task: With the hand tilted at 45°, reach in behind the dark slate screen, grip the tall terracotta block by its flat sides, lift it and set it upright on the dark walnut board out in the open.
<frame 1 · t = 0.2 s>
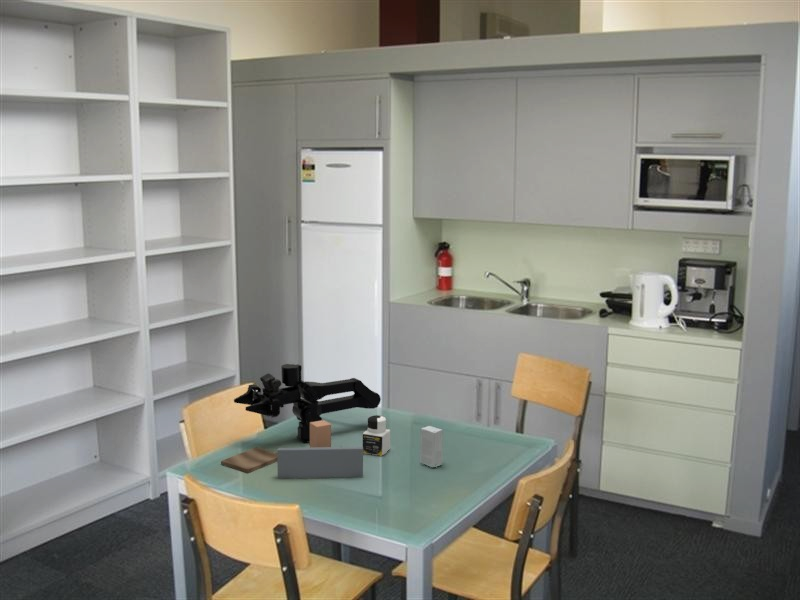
hand: (239, 404, 276), 16 cm above the table, tool horizontal, fingers open, 9 cm apart
slate screen: (320, 476, 260), on the table
medicine bottle: (376, 452, 282), on the table
skincare box: (431, 465, 271), on the table
walnut board: (252, 461, 271), on the table
terracotta block: (320, 465, 268), on the table
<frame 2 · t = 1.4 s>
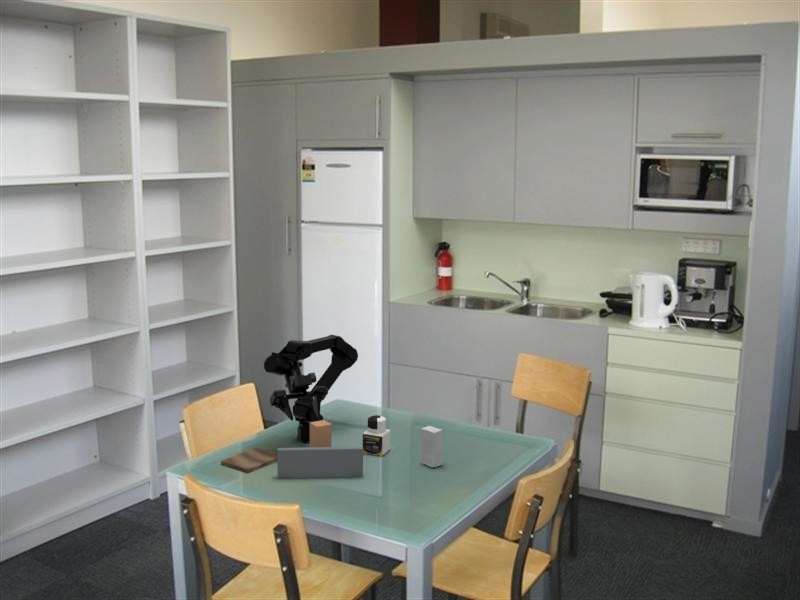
hand: (305, 418, 272), 13 cm above the table, tool tilted 45°, fingers open, 9 cm apart
nothing on the table moved.
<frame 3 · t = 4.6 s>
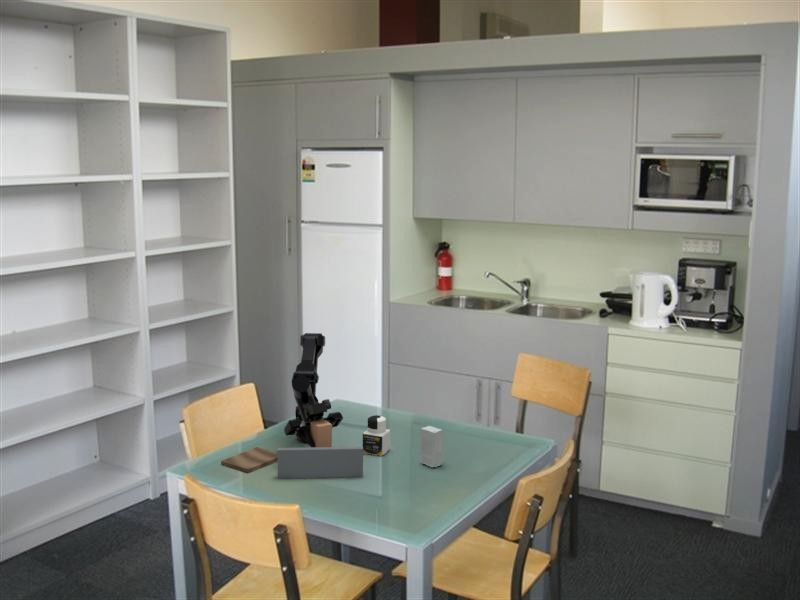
hand: (322, 447, 266), 7 cm above the table, tool tilted 45°, fingers closed on terracotta block, 5 cm apart
terracotta block: (320, 465, 268), on the table, touching gripper
everything else where it was.
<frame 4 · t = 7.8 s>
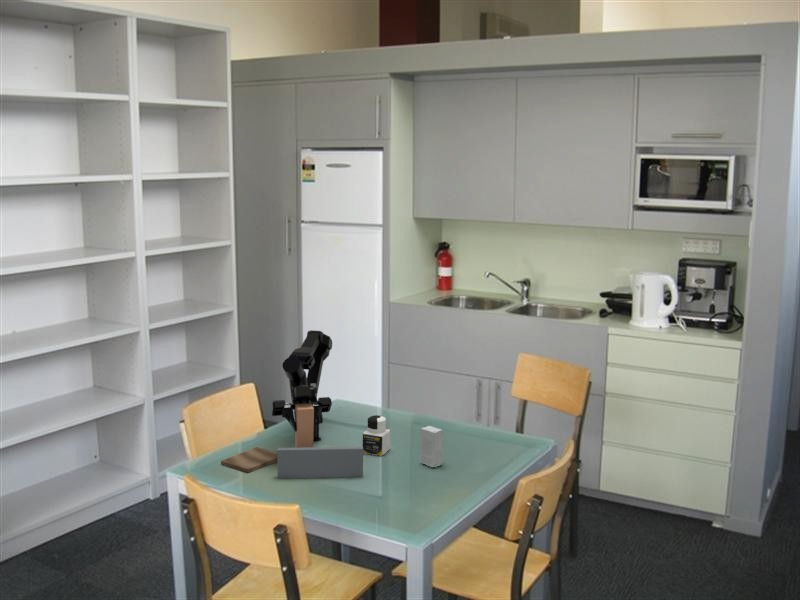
hand: (304, 430, 264), 12 cm above the table, tool tilted 45°, fingers closed on terracotta block, 5 cm apart
terracotta block: (303, 448, 267), point 6 cm above the table, touching gripper
everything else where it was.
when the fingers open (9 cm above the table, at t = 10.9 s): terracotta block drops 1 cm, resting on walnut board.
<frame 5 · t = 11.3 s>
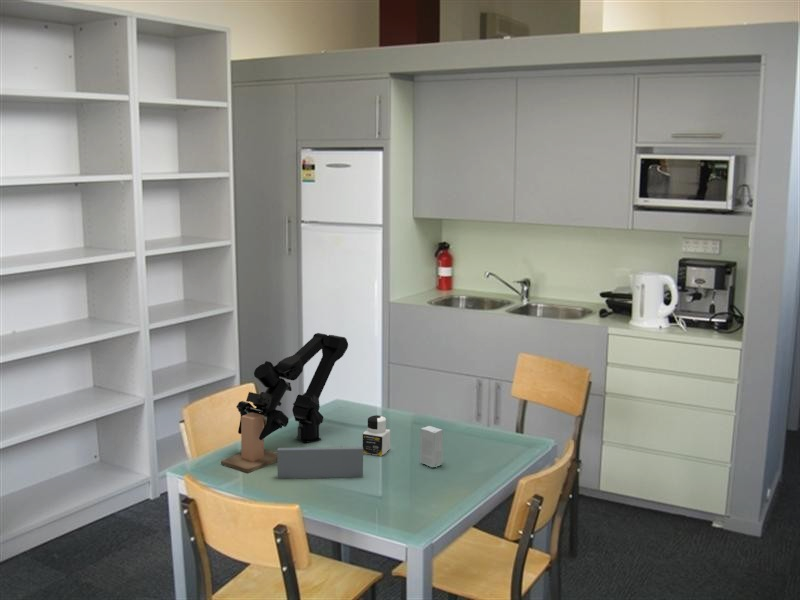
hand: (249, 436, 268), 9 cm above the table, tool tilted 45°, fingers open, 9 cm apart
terracotta block: (252, 457, 271), point 1 cm above the table, touching walnut board
everything else where it was.
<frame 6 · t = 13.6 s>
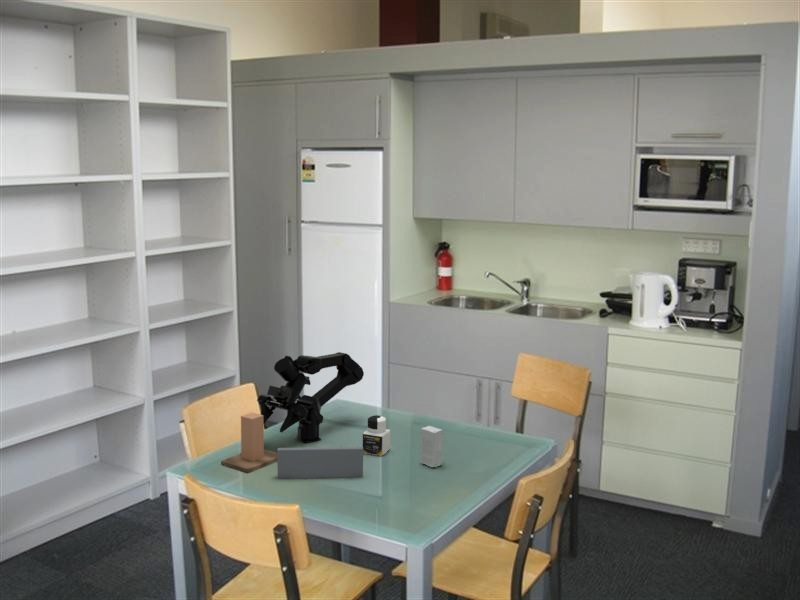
hand: (270, 428, 276), 9 cm above the table, tool tilted 45°, fingers open, 9 cm apart
nothing on the table moved.
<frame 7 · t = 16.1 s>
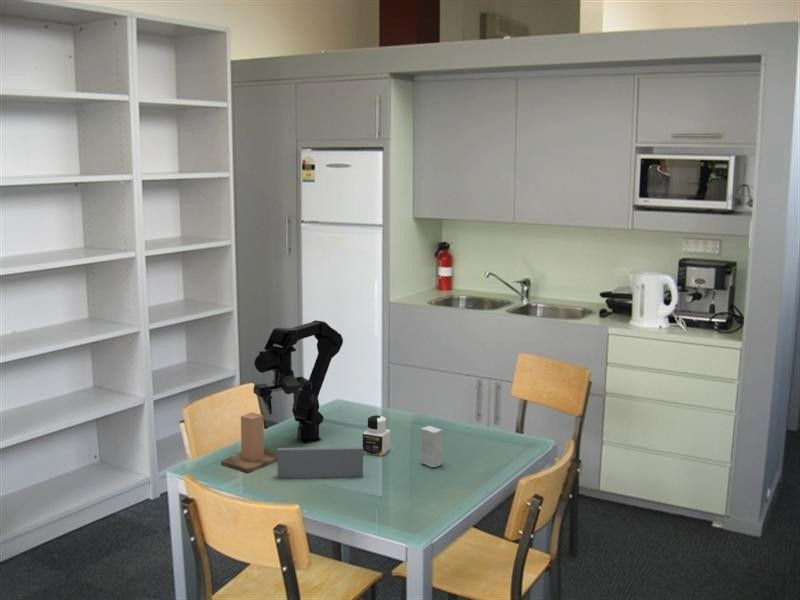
hand: (283, 412, 280), 13 cm above the table, tool pointing down, fingers open, 9 cm apart
nothing on the table moved.
at the end: terracotta block inside the target area on the walnut board (0.2 cm from its centre), point 1.2 cm above the walnut board's base; terracotta block tilted 0°; the gripper is holding nothing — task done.
